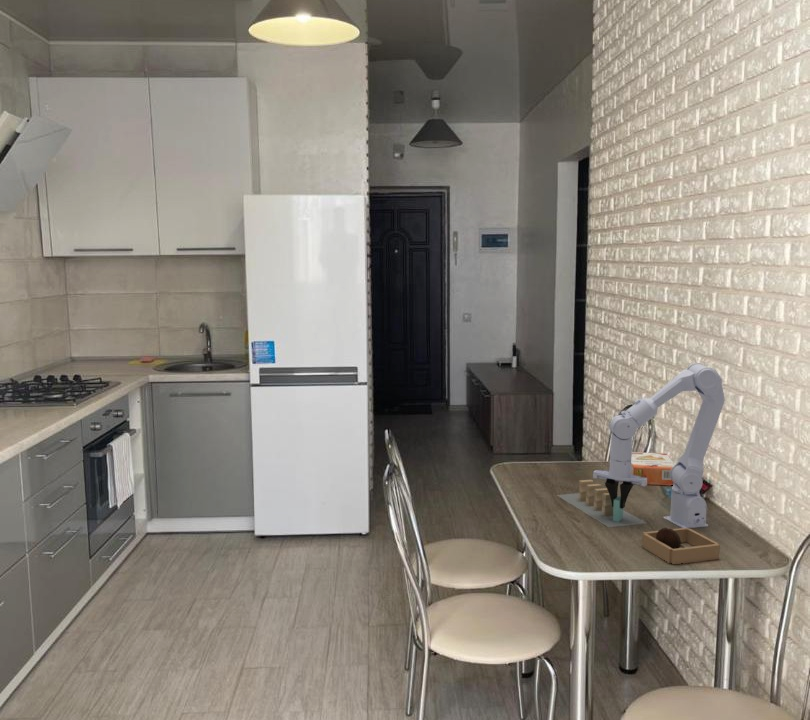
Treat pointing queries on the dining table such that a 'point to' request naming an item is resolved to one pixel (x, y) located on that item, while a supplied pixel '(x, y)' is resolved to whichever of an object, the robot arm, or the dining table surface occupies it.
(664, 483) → the cracker box
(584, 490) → the tile
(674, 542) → the dark brown rounded piece
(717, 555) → the board and tray
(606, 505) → the tile
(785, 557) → the dining table surface
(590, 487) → the tile
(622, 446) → the robot arm
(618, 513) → the tile
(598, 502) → the tan wooden block
